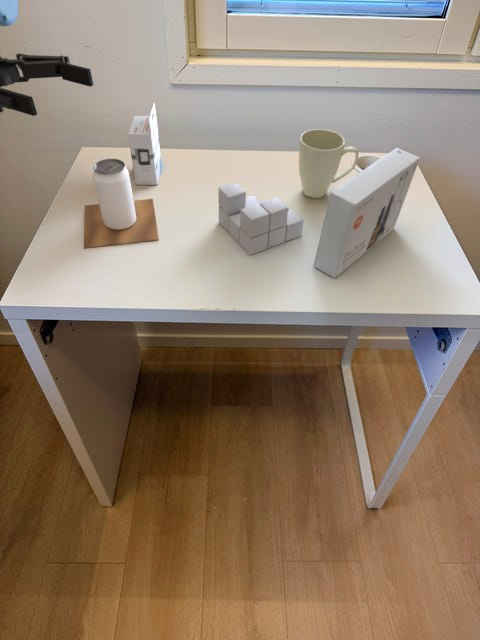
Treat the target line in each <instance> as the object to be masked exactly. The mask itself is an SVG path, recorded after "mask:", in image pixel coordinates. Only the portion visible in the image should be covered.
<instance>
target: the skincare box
mask: <svg viewBox="0 0 480 640" xmlns="http://www.w3.org/2000/svg"><path fill="white" fill-rule="evenodd" d="M420 159H421V157H420V156H417V155H415V154H413V153H411V152H408V151H406V150H403V149H401V148H399V147H395V148H394V149H392V150H391V151H390V152H388V153H387V154H385V155H384V156H382V157H380V158H379V159H378V160H375V162H373V163H372V164H370V165H369V166H367V167H365V168H364V169H362V170H361V171H359V172H358V173H356V174H355V175H353V176H352V177H350V178H349V179H347V180H345V181H344V182H343V183H341V184H340V185H338V186H337V187H335V188H334V189H332V190H331V191H330V192H329V197H328V201H327V205H326V211H325V214H324V219H323V224H322V227H321V231H320V235H319V241H318V245H317V249H316V253H315V257H314V261H313V267H315V268H316V269H318V270H320V271H321V272H323V273H324V274H326V275H328V276H330V277H331V278H333V279H336V278H337V277H338V276H339V275H340V274H342V273H343V272H344V271H346V270H347V269H348V268H349V267H350V266H351V265H353V264H354V263H355V262H356V261H357V260H359V259H360V258H361V257H362V256H363V255H364V254H366V253H367V252H368V251H369V250H371V249H372V248H373V247H374V246H375V245H377V244H378V243H379V242H380V241H381V240H382V239H384V238H385V237H386V236H388V235H389V234H390V233H392V231H393V230H394V229H395V227H396V224H397V221H398V219H399V216H400V214H401V211H402V208H403V206H404V203H405V200H406V197H407V195H408V191H409V189H410V186H411V183H412V181H413V179H414V176H415V173H416V170H417V167H418V165H419V162H420Z"/></svg>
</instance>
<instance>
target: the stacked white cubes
mask: <svg viewBox="0 0 480 640" xmlns="http://www.w3.org/2000/svg"><path fill="white" fill-rule="evenodd" d="M217 191H218V195H217V196H218V223H219V224H220V225H221V226H222V227H223V228H224V229H225V230H226V232H228V234H229V235H230V236H231V237H232V238H233V239H234V240H235V241H236V242H237V243H238V244H239V245H240V247H242V248H243V250H244V251H246V253H247V254H248V255H249V256H251V255H254V254H257V253H259V252H263V251H265V250H267V249H271V248H273V247H275V246H278V245H281V244H284V243H286V242H288V241H291V240H294V239H297V238H299V237H302V235H303V230H304V229H303V228H304V223H305V222H304V221H305V220H304V218H302V216H300V215H299V214H298V213H297V212H296V211H294V210H293V209H290V210H289V207H288V206H287V205H286V204H285V203H284V202H283V201H281V199H279V198H278V197H274V198H271V199H267V200H265V201H262V202H261V201H260V200H259V199H257V197H255V196H254V195H249V196H247V192H246V191H245V189H243V188H242V187H241V186H240V185H239V184H238V183H237V182H233V183H230V184H226V185H222V186H219V187H218V190H217Z"/></svg>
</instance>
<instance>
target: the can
mask: <svg viewBox="0 0 480 640" xmlns="http://www.w3.org/2000/svg"><path fill="white" fill-rule="evenodd" d="M92 179H93V184H94V189H95V192H96V196H97V201H98V204H99V205H100V209H101V214H102V218H103V222H104V224H105V225H106V226H107V227H108V228H110V229H113V230H124V229H127V228H130V227H131V226H132V225H133V224H134V223H135V222H136V212H135V206H134V201H135V200H134V196H133V195H134V193H133V190H132V183H131V178H130V173H129V170H128V169H127V166H126V164H125V162H124V161H123V160H121V159H118V158H104V159H101V160H99V161H97V162H95V163H94V165H93V173H92Z"/></svg>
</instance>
